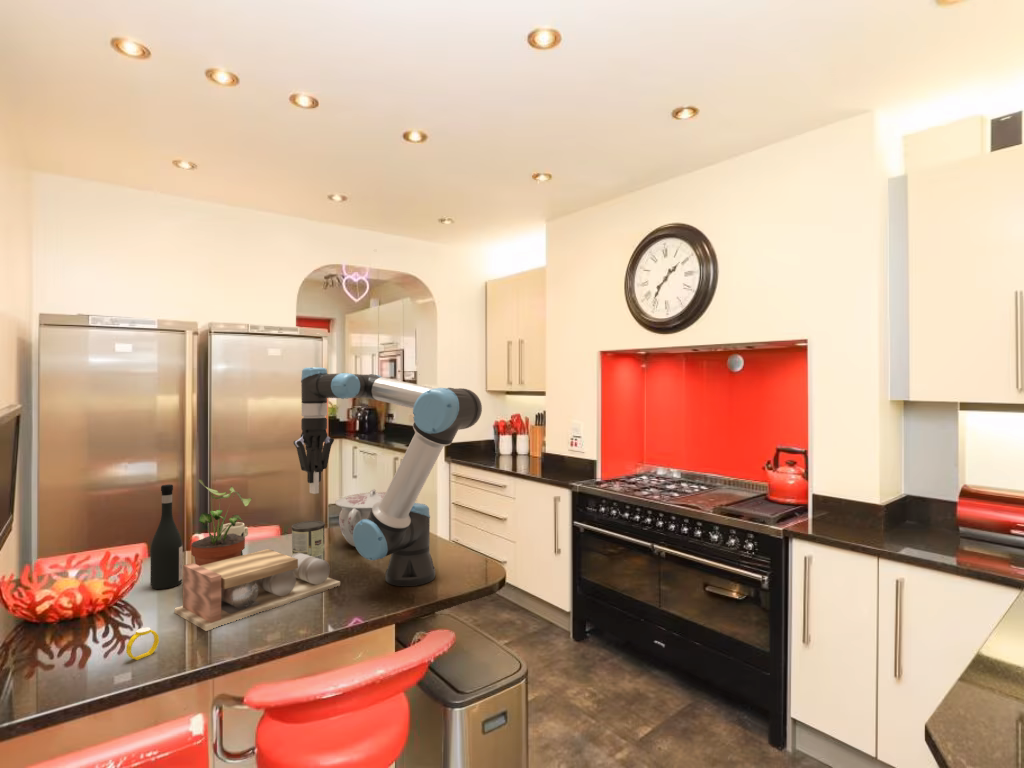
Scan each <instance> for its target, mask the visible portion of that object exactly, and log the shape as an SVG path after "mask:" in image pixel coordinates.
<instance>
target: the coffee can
mask: <svg viewBox="0 0 1024 768" xmlns="http://www.w3.org/2000/svg"><path fill="white" fill-rule="evenodd" d="M325 526H326V524H325V522H324V521H322V520H308V521H307V520H306V521H301V522H297V523H294V524H292V525H291V556H292V555H294V554H296V553H303V554H306V555H309V556H312V557H315V558H318V559H322V560H325V557H326V556H325V553H326V552H325ZM325 561H326V560H325Z"/></svg>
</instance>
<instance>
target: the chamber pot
mask: <svg viewBox="0 0 1024 768" xmlns="http://www.w3.org/2000/svg"><path fill="white" fill-rule="evenodd" d="M385 493H386V491H377V490H376V489H375V488H372V489H371V490H370V492H360V493H356V494H355V493H354V494H351V495H350V494H349V495H347V496H343V497H340V498H338V499H336V500H335V503H334V504H335V505H336V506H337V507H340V508H341V510H340V512H339V515H338V519H339V520H338V524H339V528H340V532H341V535H342V536H343V538H344V539H345V541H346V543H348V544H349V545H350V546H351V547H355V543H354V541H353V530H354V527H355V525H356V524H357V523H358V522H360V521H361V520H363V519H366V518H367V517H368V515H369V513H370V511H371V509H372V507H373V506H374V504H376V503H378V502H381V501H382V499H383V497H384V495H385Z"/></svg>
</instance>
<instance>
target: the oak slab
mask: <svg viewBox="0 0 1024 768" xmlns="http://www.w3.org/2000/svg"><path fill="white" fill-rule="evenodd" d="M201 567H203V568H206V569H208V570H210V571H213V572H215V573H217V574H220V575H221V588H223V589H227V588H230V587H234V586H237V585H241V584H244V583H248V582H251V581H255V580H258V579H262V578H265V577H269V576H272V575H276V574H279V573H282V572H286V571H289V570H293V569H296V568H298V559H296V558H293V557H291V556H290V555H286V554H284V553H281V552H278V551H275V550H272V549H269V548H267V549H263V550H258V551H255V552H251V553H247V554H243V555H242V556H238V557H234V558H230V559H226V560H221V561H217V562H213V563H209V564H205V565H201Z"/></svg>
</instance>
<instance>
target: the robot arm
mask: <svg viewBox="0 0 1024 768" xmlns="http://www.w3.org/2000/svg"><path fill="white" fill-rule="evenodd" d="M300 383H301V389H300V390H301V416H302V418H301V434H300V438H298V439H297V440H294V441H293V445H294V446H295V448H296V451H297V452H296V453H297V456H298V461H299V465H300V470H301V471H304V472H306V473H307V474H306V475H307V483H308V484H309V494H313V495H317V494H320V489H319V488H320V483H321V481H322V473H323V471H324V470H326V469H327V468H328V463H329V459H330V453H331V448H332V445H333V444H334V442H335V438H333V437H330V436H328V433H327V429H328V418H327V417H326V416H328V399H342V400H344V399H359V398H360V399H361V398H363V399H364V398H365V399H369V400H375V401H379V402H383V403H388V404H392V405H397V406H401V407H406V408H409V409H412V414H413V424H412V428H413V430H414V435H413V436H412V439H411V441H410V443H409V445H408V447H407V449H406V450H405V452H404V455H403V457H402V459H401V461H400V463H399V465H398V467H397V469H396V471H395V474H394V476H393V478H392V479H391V481H390V483H389V485H388V488H387V490H386V491H385V492H386V493H385V495H384V497H383V499H382V501H381V502H378V503H376V504H374V506H373V507H372V509H371V511H370V513H369V515H368V517H367V518H366V519H363V520H361V521H360V522H358V523H357V524H356V525H355V527H354V530H353V541H354V543H355V546H354V547H355V549H356V550H357V552H358V553H359V555H360V556H361V557H362V558H364V559H366V560H369V561H376V560H379V559H380V560H381V559H384V558H385V557H387V556H389V555H391V556H390V558H389V562H388V567H387V568H386V571H385V581H386V583H388V584H390V585H392V586H397V587H414V586H420V585H425V584H427V583H430V582H432V581H433V580H435V578H436V568H435V565H434V563H433V558H432V556H431V553H430V552H431V551H430V539H431V537H430V533H431V532H430V530H431V529H430V526H431V525H430V519H431V515H430V507H429V506H428V505H426V504H424V503H419V502H416V501H417V499H418V497H419V495H420V493H421V491H422V489H423V487H424V485H425V483H426V481H427V479H428V478H429V476H430V474H431V471H432V470H433V468H434V466H435V464H436V462H437V460H438V458H439V456H440V454H441V452H442V450H443V449H444V447H447V446H450V445H452V442H453V441H454V439H455V437H456V435H457V433H458V432H459V430H465V429H469V428H471V427H473V426H474V425H476V423H477V422H478V421H479V420H480V417H481V415H482V412H483V406H482V402H481V399H480V397H479V396H478V395H477V394H476V393H475V392H474V391H473V390H470V389H467V388H454V387H453V388H452V387H437V388H435V387H432V386H431V387H430V386H426V385H422V384H417V383H412V382H406V381H402V380H397V379H392V378H388V377H383V376H382V375H377V374H370V373H369V374H359V373H349V372H345V373H344V372H341V373H340V372H339V373H328V370H327V368H326V367H304V368H302V370H301V379H300Z"/></svg>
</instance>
